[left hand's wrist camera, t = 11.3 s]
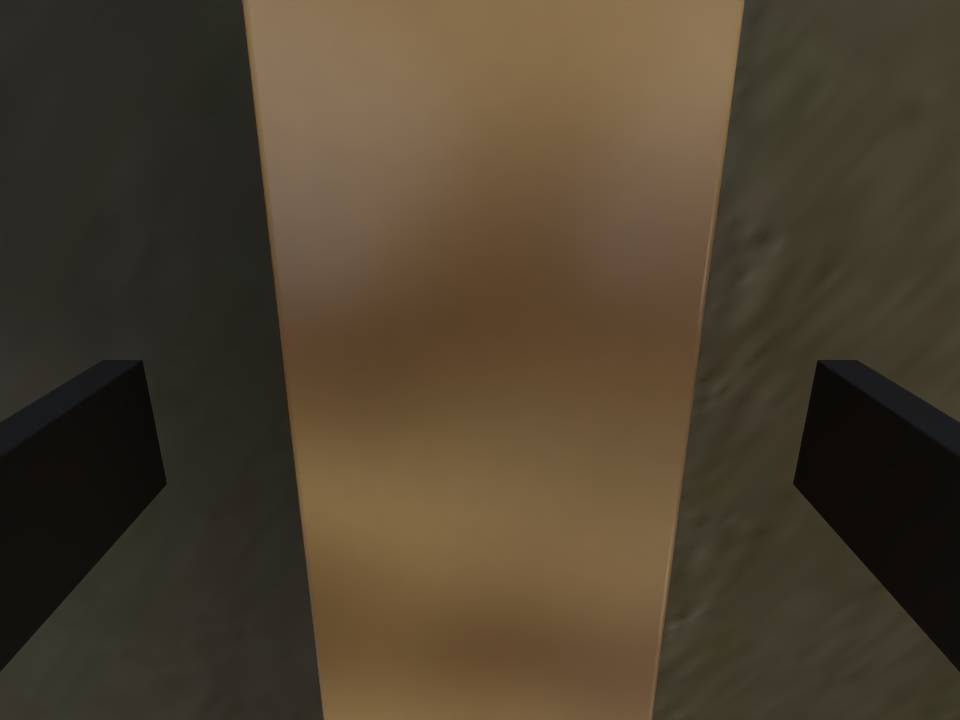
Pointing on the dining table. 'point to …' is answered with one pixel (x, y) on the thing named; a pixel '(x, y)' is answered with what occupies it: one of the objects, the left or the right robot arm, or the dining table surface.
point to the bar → (490, 334)
